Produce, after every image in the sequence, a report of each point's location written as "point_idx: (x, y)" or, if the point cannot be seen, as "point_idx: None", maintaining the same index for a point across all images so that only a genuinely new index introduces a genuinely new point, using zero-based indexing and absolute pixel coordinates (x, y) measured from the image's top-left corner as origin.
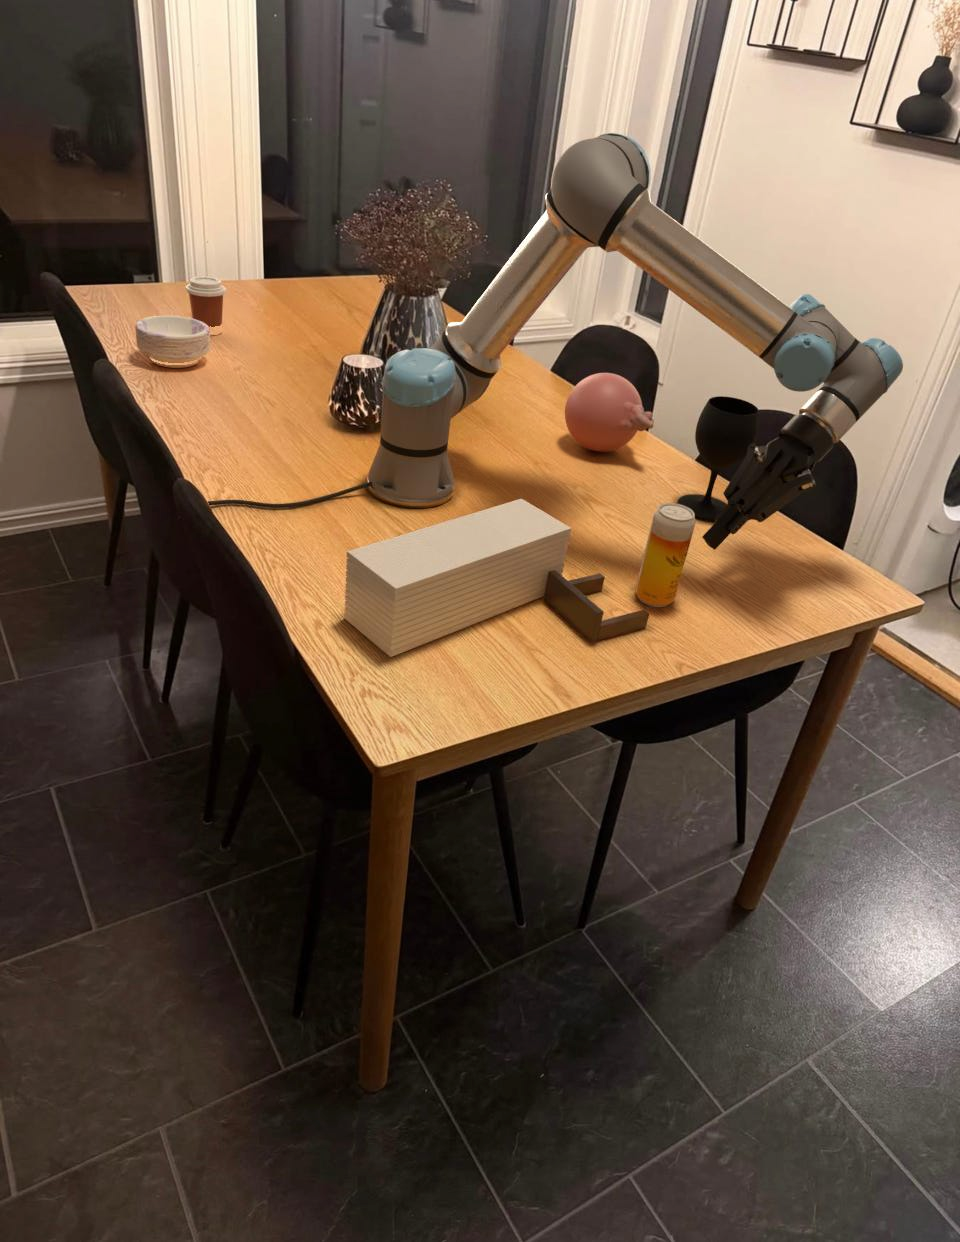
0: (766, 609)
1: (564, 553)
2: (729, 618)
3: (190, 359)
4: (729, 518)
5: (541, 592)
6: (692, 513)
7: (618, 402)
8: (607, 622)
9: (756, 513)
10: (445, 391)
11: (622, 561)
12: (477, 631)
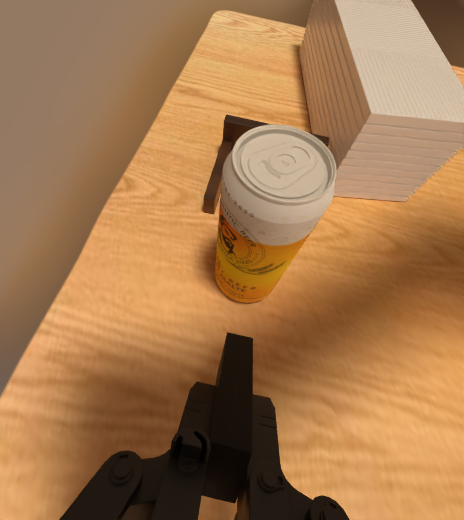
0: (89, 430)
1: (347, 149)
2: (131, 331)
3: None
4: (219, 398)
5: None
6: (255, 190)
7: None
8: (223, 150)
9: (113, 456)
10: None
11: (350, 324)
12: (296, 101)
